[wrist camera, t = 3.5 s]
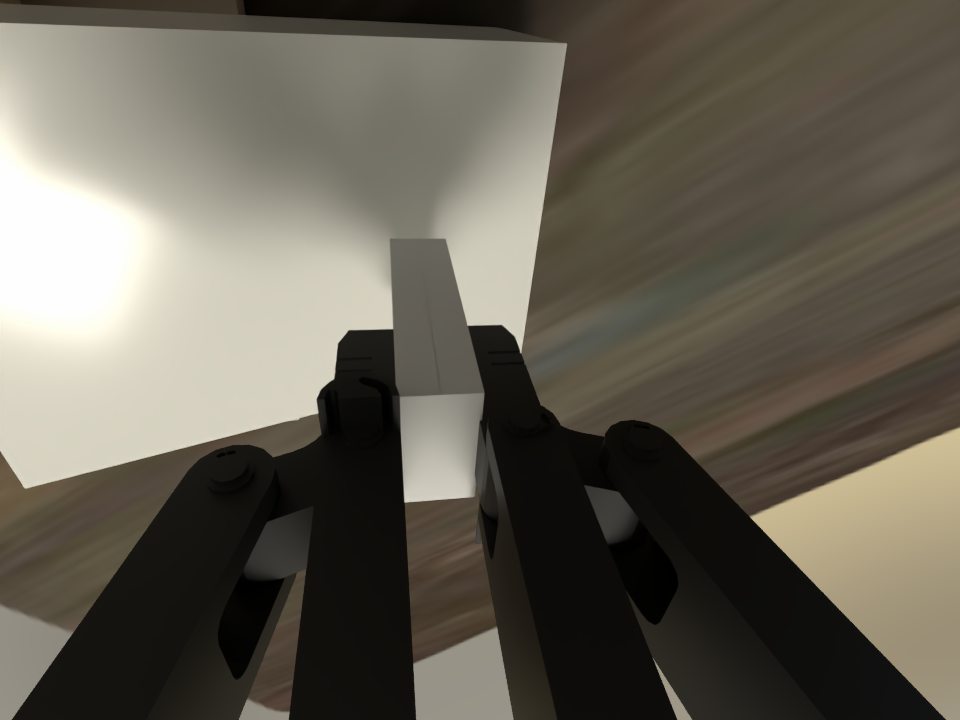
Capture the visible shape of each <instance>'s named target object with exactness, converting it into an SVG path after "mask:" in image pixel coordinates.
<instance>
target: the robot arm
mask: <svg viewBox="0 0 960 720" xmlns="http://www.w3.org/2000/svg"><path fill="white" fill-rule="evenodd" d="M390 260H391V290H392V319H393V329H377V330H349V331H348V332H347V333H346V334H345V336H344V337H343V338H342V339H341V340H340V342H339V343H338V348H337V357H336V366H335V376H334V380H332V381H330V382H329V383H328V384H327V385H325V386H324V387H323V388H322V389H321V390H320V393H319V395H318V397H317V399H316V400H317V407H318V414H319V421H320V427H321V434H322V435H321V436H320V437H318V438H317V439H316V440H315V441H314V442H312V443H310V444H309V445H307V446H306V447H304V448H301V449H298V450H296V451H293V452H290V453H287V454H283V455H280V456H277V457H274V458H273V457H272V456H271V455H270V454H269V453H267V452H266V451H265V450H264V449H262V448H259V447H255V446H252V445H232V446H228V447H225V448H221V449H218V450H215V451H213V452H211V453H210V454H208V455H206V456H204V457H202V458H201V459H199V460H198V461H197V462H196V463H195V464H194V465H193V466H192V467H191V468H190V469H189V470H188V472H187V473H186V475H185V476H184V477H183V479H182V480H181V482H180V483H179V484H178V486H177V487H176V489H175V490H174V492H173V493H172V494H171V496H170V497H169V499H168V500H167V501H166V503H165V504H164V506H163V507H162V508H161V510H160V511H159V513H158V514H157V516H156V517H155V518H154V520H153V521H152V523H151V524H150V525H149V527H148V528H147V530H146V531H145V532H144V534H143V535H142V537H141V538H140V540H139V541H138V542H137V544H136V545H135V547H134V548H133V549H132V551H131V552H130V554H129V555H128V556H127V558H126V559H125V561H124V562H123V563H122V565H121V566H120V568H119V569H118V571H117V572H116V573H115V575H114V576H113V578H112V579H111V580H110V582H109V583H108V585H107V586H106V587H105V589H104V590H103V592H102V593H101V595H100V596H99V597H98V599H97V600H96V602H95V603H94V604H93V606H92V607H91V609H90V610H89V611H88V613H87V614H86V616H85V617H84V619H83V620H82V621H81V623H80V624H79V626H78V627H77V628H76V630H75V631H74V633H73V634H72V635H71V637H70V638H69V640H68V641H67V643H66V644H65V646H64V647H63V648H62V650H61V651H60V653H59V654H58V655H57V657H56V658H55V660H54V661H53V662H52V664H51V665H50V667H49V668H48V669H47V671H46V672H45V674H44V675H43V676H42V678H41V679H40V681H39V682H38V684H37V685H36V686H35V688H34V689H33V691H32V692H31V693H30V695H29V696H28V698H27V699H26V700H25V702H24V703H23V705H22V706H21V707H20V709H19V710H18V712H17V713H16V715H15V716H14V717H13V719H12V720H239V717H240V715H241V712H242V710H243V707H244V705H245V703H246V700H247V698H248V695H249V693H250V690H251V688H252V685H253V683H254V680H255V678H256V675H257V673H258V670H259V668H260V665H261V663H262V660H263V658H264V655H265V653H266V650H267V648H268V645H269V643H270V640H271V638H272V635H273V633H274V630H275V628H276V625H277V623H278V620H279V618H280V615H281V613H282V610H283V608H284V605H285V603H286V600H287V598H288V595H289V593H290V590H291V588H292V585H293V583H294V580H295V578H296V573H297V572H299V571H302V570H304V569H306V577H305V586H304V594H303V603H302V612H301V620H300V629H299V637H298V646H297V654H296V663H295V672H294V680H293V689H292V697H291V706H290V714H289V720H416V709H415V692H414V672H413V653H412V634H411V615H410V596H409V577H408V558H407V540H406V521H405V502H416V501H429V500H441V499H454V498H466V497H475V488H476V484H477V489H478V494H479V500H480V502H479V512H478V521H477V531H476V544H481V540H482V544H483V550H484V556H485V561H486V567H487V572H488V578H489V584H490V589H491V595H492V600H493V606H494V612H495V617H496V623H497V628H498V634H499V640H500V645H501V651H502V656H503V662H504V668H505V673H506V679H507V684H508V690H509V696H510V701H511V706H512V712H513V718H514V720H677V718H676V715H675V713H674V710H673V708H672V705H671V703H670V700H669V698H668V695H667V693H666V690H665V688H664V685H663V683H662V680H661V678H660V675H659V673H658V670H657V668H656V665H655V662H656V663H657V665H658V666H659V668H660V669H661V671H662V673H663V674H664V676H665V677H666V679H667V680H668V682H669V684H670V685H671V687H672V688H673V690H674V691H675V693H676V695H677V696H678V698H679V699H680V701H681V703H682V704H683V705H684V707H685V709H686V710H687V712H688V714H689V715H690V717H691V718H692V720H946V719H945V718H944V717H943V716H942V715H941V714H940V713H939V712H938V711H937V710H936V709H935V708H934V707H933V706H932V705H931V704H930V703H929V702H928V701H927V700H926V699H925V698H924V697H923V696H922V695H921V694H920V692H919V691H918V690H917V689H916V688H915V687H913V685H912V684H911V683H910V682H909V681H908V680H907V679H906V678H905V677H904V676H903V675H902V674H901V673H900V672H899V671H898V670H897V669H896V668H895V667H894V666H893V665H892V664H891V663H890V661H888V659H887V658H886V657H885V656H883V654H882V653H881V652H880V651H879V650H878V649H877V648H876V647H875V646H874V645H873V644H872V643H871V642H870V641H869V640H868V639H867V638H866V637H865V636H864V635H863V634H862V633H861V632H860V631H859V630H858V628H857V627H856V626H855V625H854V624H853V623H852V622H851V621H850V620H849V619H848V618H847V617H846V616H845V615H844V614H843V613H842V612H841V611H840V610H839V609H838V608H837V607H836V606H835V605H834V604H833V603H832V602H831V601H830V600H829V599H828V598H827V596H826V595H825V594H824V593H823V592H822V591H821V590H820V589H819V588H818V587H817V586H816V585H815V584H814V583H813V582H812V581H811V580H810V579H809V578H808V577H807V576H806V575H805V574H804V573H803V572H802V571H801V570H800V569H799V568H798V567H797V565H796V564H795V563H794V562H793V561H792V560H791V559H790V558H789V557H788V556H787V555H786V554H785V553H784V552H783V551H782V550H781V549H780V548H779V547H778V546H777V545H776V544H775V543H774V542H773V541H772V540H771V539H770V538H769V537H768V536H767V534H766V533H765V532H763V530H762V529H761V528H760V527H759V526H758V525H757V524H756V523H755V522H754V521H753V520H752V519H751V518H750V517H749V516H748V515H747V514H746V513H745V512H744V511H743V510H742V509H741V508H740V507H739V505H738V504H737V503H736V502H735V501H734V500H733V499H732V498H731V497H730V496H729V495H728V494H727V493H726V492H725V491H724V490H723V489H722V488H721V487H720V486H719V485H718V484H717V483H716V482H715V481H714V480H713V479H712V478H711V477H710V476H709V475H708V473H707V472H706V471H705V470H704V469H703V468H702V467H701V466H700V465H699V464H698V463H697V462H696V461H695V460H694V459H693V458H692V457H691V456H690V455H689V454H688V453H687V452H686V451H685V450H684V449H683V448H682V447H681V446H680V445H679V444H678V442H677V441H676V440H675V439H674V438H673V437H671V436H670V435H669V434H668V433H666V432H665V431H664V430H662V429H661V428H659V427H657V426H654V425H652V424H650V423H647V422H641V421H636V420H629V421H620V422H618V423H616V424H614V425H612V426H610V428H609V429H608V431H607V432H606V434H605V437H603V436H597V435H592V434H586V433H581V432H577V431H573V430H569V429H567V428H565V427H563V426H560V423H559V421H558V420H557V419H556V417H555V416H554V414H553V413H552V412H550V411H549V410H547V409H546V408H545V407H543V406H541V405H540V402H539V400H538V397H537V394H536V392H535V389H534V386H533V384H532V381H531V378H530V376H529V373H528V370H527V368H526V365H524V360H523V357H522V354H521V353H520V349H519V346H518V344H517V341H516V338H515V336H514V335H513V334H511V333H510V332H509V331H508V330H507V329H506V328H505V327H504V326H503V325H475V326H468V325H467V321H466V317H465V313H464V309H463V305H462V301H461V297H460V293H459V289H458V285H457V282H456V278H455V274H454V270H453V266H452V262H451V258H450V254H449V250H448V246H447V242H446V239H390ZM653 658H654V660H655V662H654V660H653Z"/></svg>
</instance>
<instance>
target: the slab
mask: <svg viewBox="0 0 960 720" xmlns="http://www.w3.org/2000/svg"><path fill="white" fill-rule="evenodd" d="M566 48H567V43H563V42H559V41H555V40H550V39H546V38H542V37H537V36H533V35H528V34H524V33H520V32H515V31H511V30H507V29H502V28H497V27H478V26H458V25H437V24H416V23H395V22H375V21H354V20H333V19H313V18H292V17H271V16H251V15H230V14H209V13H189V12H168V11H147V10H126V9H106V8H85V7H64V6H44V5H23V4H2V3H0V451H1V453H2V454H3V456H4V457H5V459H6V460H7V462H8V463H9V465H10V466H11V468H12V470H13V471H14V473H15V474H16V476H17V477H18V479H19V480H20V482H21V483H22V485H23V486H24V488H25V489H26V488H29V487H33V486H37V485H41V484H45V483H49V482H53V481H57V480H61V479H64V478H68V477H72V476H76V475H80V474H84V473H88V472H92V471H95V470H99V469H103V468H107V467H111V466H115V465H119V464H123V463H127V462H130V461H134V460H138V459H142V458H146V457H150V456H154V455H158V454H161V453H165V452H169V451H173V450H177V449H181V448H185V447H189V446H193V445H196V444H200V443H204V442H208V441H212V440H216V439H220V438H224V437H227V436H231V435H235V434H239V433H243V432H247V431H251V430H255V429H259V428H262V427H266V426H270V425H274V424H278V423H282V422H286V421H290V420H293V419H297V418H301V417H305V416H309V415H313V414H317V413H318V407H317V400H316V399H317V397H318V395H319V393H320V390H321V389H322V388H323V387H324V386H325V385H327V384H328V383H329V382H330V381H332V380H334V376H335V366H336V357H337V348H338V343H339V342H340V340H341V339H342V338H343V337H344V336H345V334H346V333H347V332H348V331H349V330H377V329H393V319H392V290H391V260H390V239H446V242H447V246H448V250H449V254H450V258H451V262H452V266H453V270H454V274H455V278H456V282H457V285H458V289H459V293H460V297H461V301H462V305H463V309H464V313H465V317H466V321H467V325H468V326H475V325H503V326H504V327H505V328H506V329H507V330H508V331H509V332H510V333H511V334H513V335H514V336H515V338H516V341H517V344H518V346H519V349H520V353H521V350H522V343H523V337H524V330H525V323H526V317H527V310H528V303H529V296H530V290H531V283H532V276H533V270H534V263H535V256H536V249H537V243H538V236H539V229H540V222H541V216H542V209H543V202H544V196H545V189H546V182H547V175H548V169H549V162H550V155H551V149H552V142H553V135H554V128H555V122H556V115H557V108H558V101H559V95H560V88H561V81H562V75H563V68H564V61H565V54H566Z"/></svg>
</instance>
